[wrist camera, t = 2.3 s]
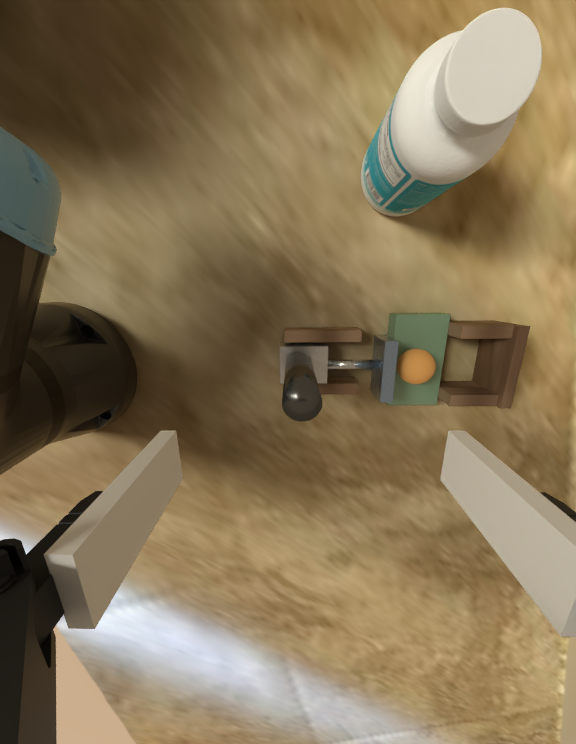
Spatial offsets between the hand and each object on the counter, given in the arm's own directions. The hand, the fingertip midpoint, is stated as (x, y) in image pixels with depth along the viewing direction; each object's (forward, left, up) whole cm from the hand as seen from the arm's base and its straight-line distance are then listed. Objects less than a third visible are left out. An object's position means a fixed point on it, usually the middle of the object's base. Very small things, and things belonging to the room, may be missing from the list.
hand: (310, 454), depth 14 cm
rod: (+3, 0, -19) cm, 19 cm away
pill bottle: (+9, +18, -20) cm, 28 cm away
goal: (+18, 0, -19) cm, 27 cm away
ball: (+12, 0, -16) cm, 19 cm away
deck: (+13, 0, -19) cm, 23 cm away
